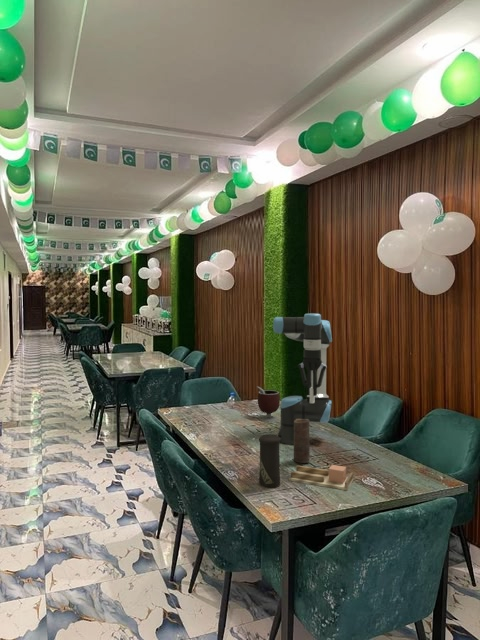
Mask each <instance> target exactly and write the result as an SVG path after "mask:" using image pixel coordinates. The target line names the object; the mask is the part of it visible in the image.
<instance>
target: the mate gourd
mask: <svg viewBox="0 0 480 640" xmlns="http://www.w3.org/2000/svg"><path fill="white" fill-rule="evenodd" d="M256 388H257V389H259V391H258V395H257V406H258V408H259V410H260V412H262V413H264V414H266V415H263V416H262V415H261V416H259V418H258V420H259V421H260V422H261V421H262V422H277V421H279V417H278V416H276V415H272V413H275V412H277V411H278V409H279V408H280V405H281V400H280V399H281V398H280V392H279V391H277V390H273V389H272V390H271V389H267V390H264V389H263V388H262V387H260V386H256Z"/></svg>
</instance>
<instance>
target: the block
mask: <svg viewBox="0 0 480 640" xmlns="http://www.w3.org/2000/svg"><path fill="white" fill-rule="evenodd" d="M328 470H329V481H333V482H339V483H344V482H345V480H346V476H347V466H341V465H334V464H331V466H330V467H329V468H328Z"/></svg>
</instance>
